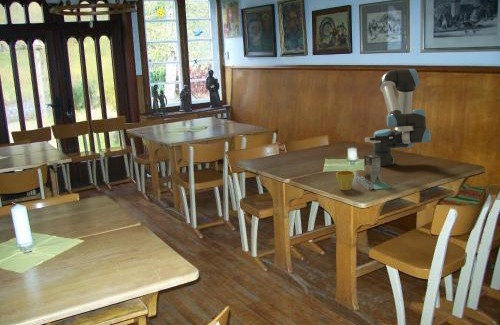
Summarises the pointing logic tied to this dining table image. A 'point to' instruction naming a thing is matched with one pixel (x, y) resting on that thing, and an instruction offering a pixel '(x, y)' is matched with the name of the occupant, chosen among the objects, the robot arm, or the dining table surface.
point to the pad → (381, 186)
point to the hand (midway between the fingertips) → (367, 140)
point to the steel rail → (365, 183)
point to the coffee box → (372, 168)
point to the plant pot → (345, 179)
